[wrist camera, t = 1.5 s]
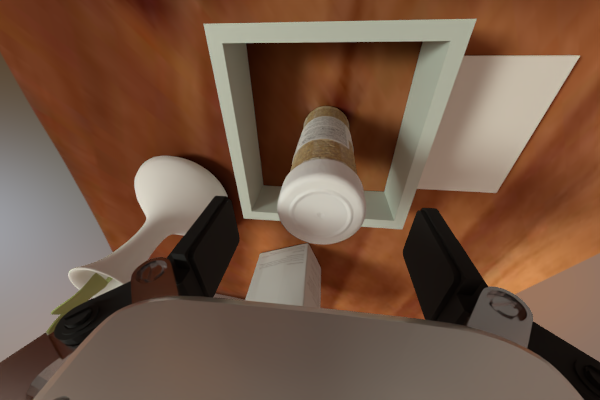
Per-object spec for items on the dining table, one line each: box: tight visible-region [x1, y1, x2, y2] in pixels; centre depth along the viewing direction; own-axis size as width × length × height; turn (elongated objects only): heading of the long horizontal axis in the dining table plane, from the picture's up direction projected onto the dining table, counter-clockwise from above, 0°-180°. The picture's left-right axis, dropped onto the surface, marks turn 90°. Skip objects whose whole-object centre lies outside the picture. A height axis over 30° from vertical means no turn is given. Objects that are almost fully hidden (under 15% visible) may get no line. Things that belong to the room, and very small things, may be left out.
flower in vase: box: [46, 156, 228, 334], centre depth 18 cm, size 13×11×25 cm
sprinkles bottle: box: [277, 106, 366, 244], centre depth 17 cm, size 5×5×14 cm
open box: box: [204, 19, 476, 229], centre depth 20 cm, size 16×16×5 cm
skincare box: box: [245, 243, 321, 308], centre depth 28 cm, size 8×6×15 cm
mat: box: [417, 55, 580, 193], centre depth 20 cm, size 12×8×1 cm, turn 1°
